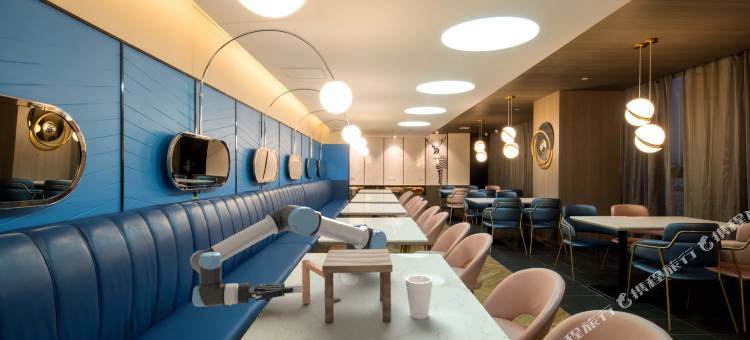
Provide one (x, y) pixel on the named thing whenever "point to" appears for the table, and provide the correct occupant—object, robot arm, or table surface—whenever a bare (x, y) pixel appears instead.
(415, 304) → the foam cup
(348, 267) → the stool
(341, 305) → the table surface
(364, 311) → the table surface
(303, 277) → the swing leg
